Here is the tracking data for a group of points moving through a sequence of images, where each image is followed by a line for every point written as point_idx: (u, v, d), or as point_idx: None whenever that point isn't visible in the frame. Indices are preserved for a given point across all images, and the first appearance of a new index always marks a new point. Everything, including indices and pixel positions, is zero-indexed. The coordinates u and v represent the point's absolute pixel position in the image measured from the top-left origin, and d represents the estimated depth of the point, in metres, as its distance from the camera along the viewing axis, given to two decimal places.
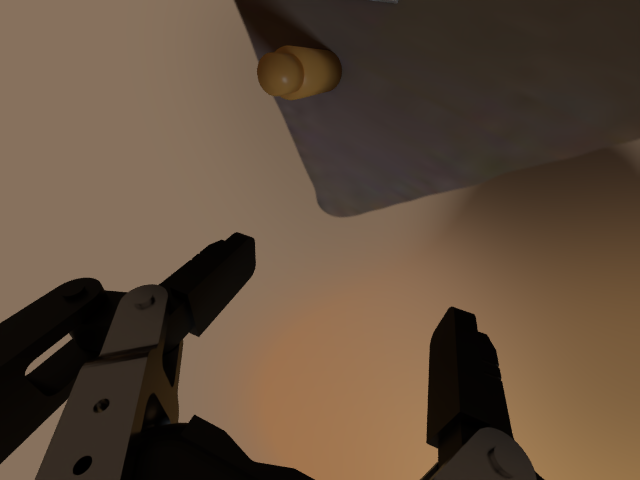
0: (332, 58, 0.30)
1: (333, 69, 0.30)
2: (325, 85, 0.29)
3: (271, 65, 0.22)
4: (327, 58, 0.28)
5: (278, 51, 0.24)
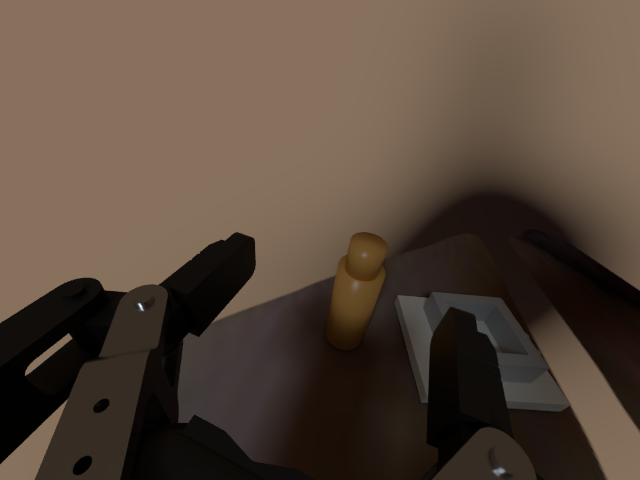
0: (363, 333, 0.28)
1: (355, 333, 0.27)
2: (343, 320, 0.26)
3: (376, 242, 0.23)
4: (366, 323, 0.27)
5: None
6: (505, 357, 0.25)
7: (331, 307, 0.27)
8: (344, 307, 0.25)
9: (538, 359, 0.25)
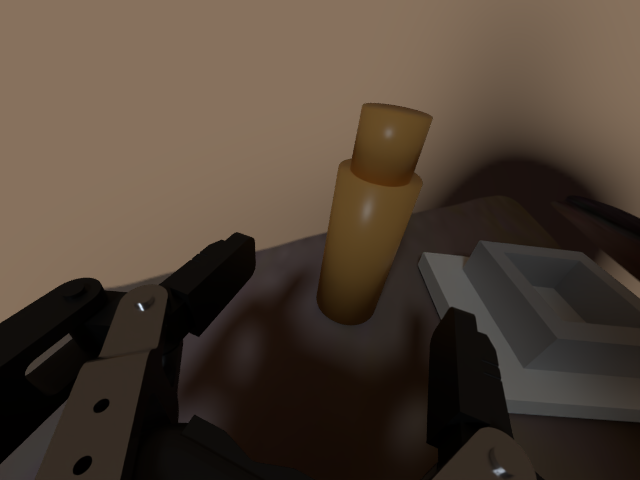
0: (377, 296, 0.17)
1: (365, 294, 0.16)
2: (347, 269, 0.15)
3: (410, 112, 0.12)
4: (383, 277, 0.16)
5: None
6: (626, 333, 0.14)
7: (326, 251, 0.16)
8: (348, 242, 0.14)
9: None
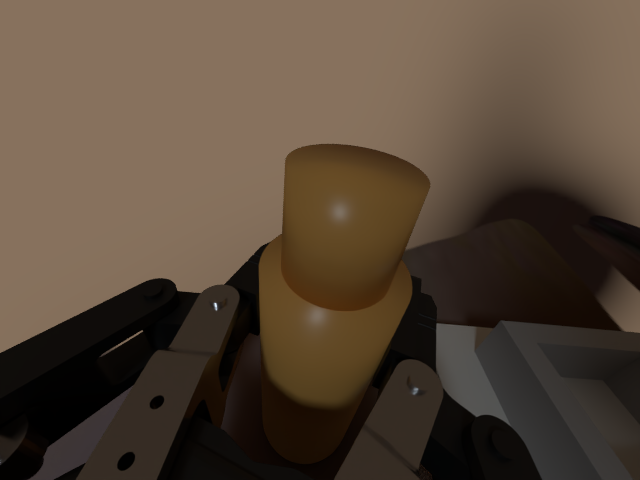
0: (345, 430, 0.11)
1: (324, 439, 0.10)
2: (288, 413, 0.09)
3: (386, 168, 0.06)
4: (353, 413, 0.10)
5: None
6: None
7: (261, 369, 0.10)
8: (283, 384, 0.08)
9: None
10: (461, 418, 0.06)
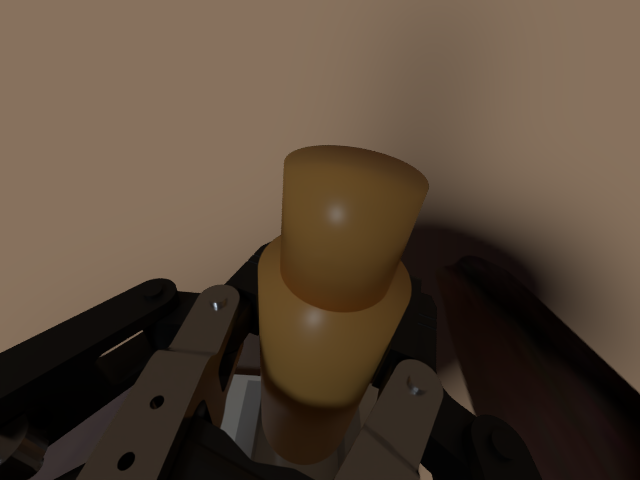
0: (344, 430, 0.11)
1: (324, 440, 0.10)
2: (287, 414, 0.09)
3: (385, 170, 0.06)
4: (352, 414, 0.10)
5: None
6: None
7: (260, 369, 0.10)
8: (283, 385, 0.08)
9: None
10: (461, 418, 0.06)
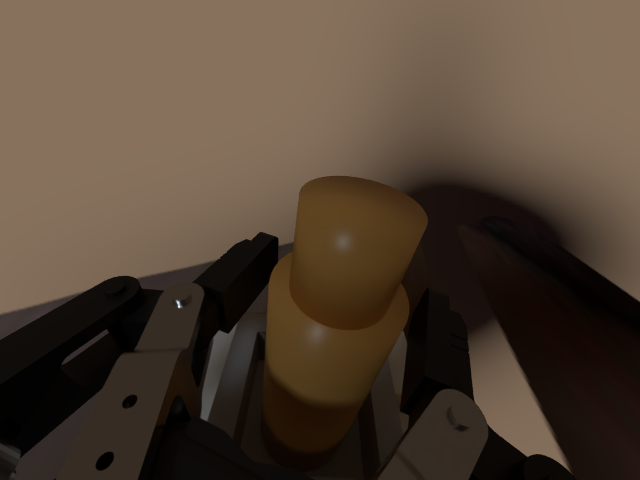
0: (342, 439, 0.12)
1: (322, 447, 0.11)
2: (290, 423, 0.10)
3: (388, 203, 0.07)
4: (350, 423, 0.11)
5: None
6: None
7: (264, 379, 0.11)
8: (288, 395, 0.09)
9: None
10: (507, 456, 0.06)
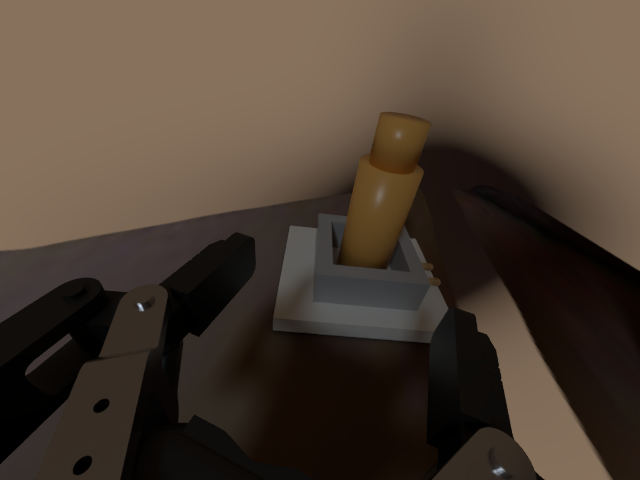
0: (386, 264, 0.22)
1: (378, 261, 0.21)
2: (364, 239, 0.20)
3: (415, 119, 0.17)
4: (392, 247, 0.21)
5: None
6: (377, 272, 0.20)
7: (347, 227, 0.21)
8: (367, 218, 0.19)
9: (420, 276, 0.20)
10: None
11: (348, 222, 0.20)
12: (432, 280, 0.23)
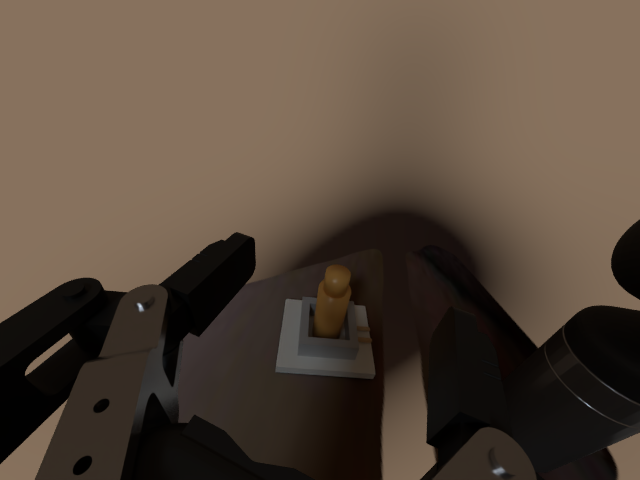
0: (338, 333, 0.39)
1: (332, 333, 0.38)
2: (324, 324, 0.37)
3: (343, 272, 0.34)
4: (340, 326, 0.38)
5: None
6: (331, 341, 0.37)
7: (315, 315, 0.38)
8: (323, 315, 0.36)
9: (354, 343, 0.37)
10: None
11: (315, 313, 0.38)
12: (367, 339, 0.41)
